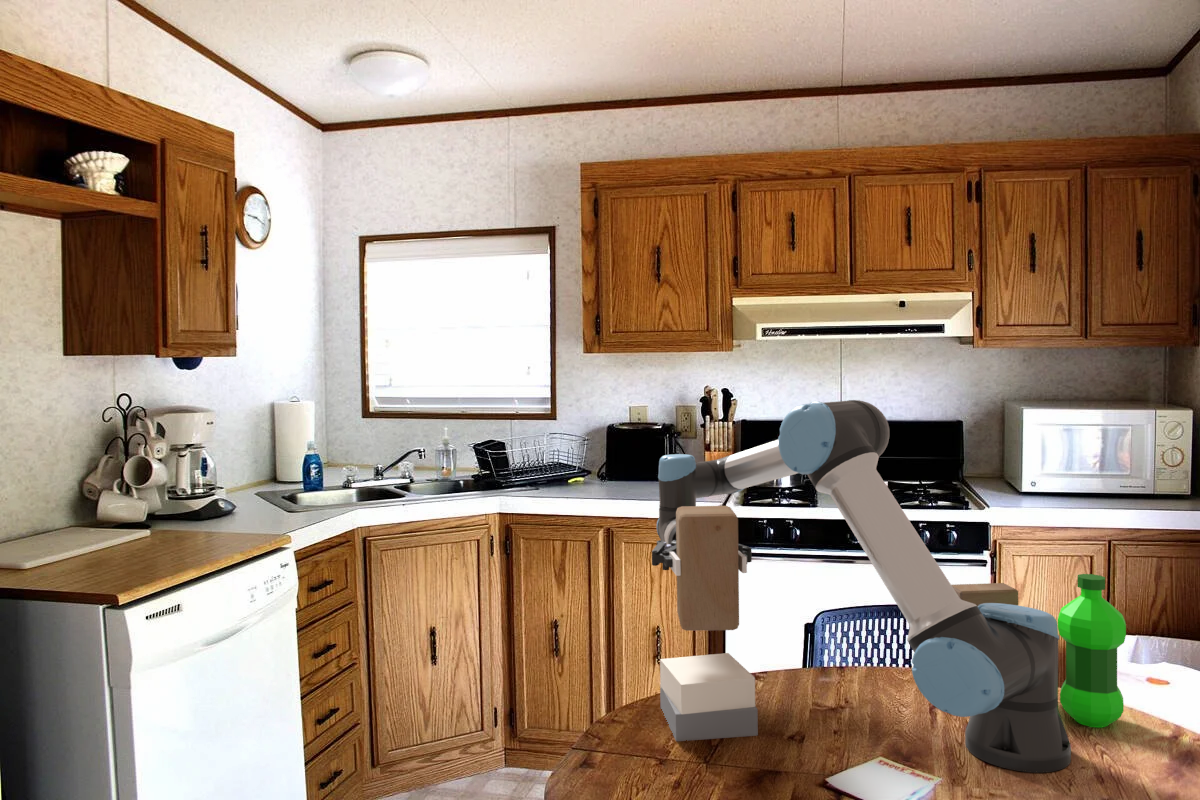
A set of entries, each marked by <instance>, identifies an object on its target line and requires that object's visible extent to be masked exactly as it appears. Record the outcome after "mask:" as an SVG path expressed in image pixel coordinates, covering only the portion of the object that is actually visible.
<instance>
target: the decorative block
mask: <svg viewBox="0 0 1200 800" xmlns="http://www.w3.org/2000/svg"><path fill="white" fill-rule="evenodd" d="M951 586H952V587H953V589H954V590H955V592H956V593H957V595H958V596H959V598H960V599H961V600H963V601H967V602H970V603H973V604H976V605H977V607H978V606H979V605H980V604H983V603H1001V604H1011V605H1018V606H1019V590H1018V589H1017V588H1014V587H1013V586H1010V585H1008V584H1006V583H1005V582H996V583H995V582H994V583H993V582H992V583H989V582H988V583H972V584H971V583H965V584H964V583H963V584H961V583H960V584H957V583H956V584H951Z"/></svg>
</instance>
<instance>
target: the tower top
mask: <svg viewBox="0 0 1200 800" xmlns="http://www.w3.org/2000/svg"><path fill="white" fill-rule="evenodd" d="M659 670H660V671H659V673H660V675H659V678H660V679H659V682H660V683H659V686H661V688H662V689H663V690H664V692H665V693H666V694H667V696H668V697H669V698H670V700H671V701H672V702H673V704H674V705H675V706H676V708H677V709H678V710H679V712H680V713H681V714H691V713H701V712H710V711H720V710H730V709H739V708H749V707H755V706H756V677H755V676H754V675H753V674H752V673H751V672H749V670H747V669H746V668H745V667H744V666H743V665H742V664H741V663H740V662H739V661H738V660H737V659H736V658H734V657H733V656H732V655H731V654H730V653H729V652H725V653H714V654H711V653H710V654H703V655H692V656H691V655H690V656H681V657H667V658H660V659H659Z"/></svg>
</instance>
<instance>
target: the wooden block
mask: <svg viewBox="0 0 1200 800" xmlns="http://www.w3.org/2000/svg"><path fill="white" fill-rule="evenodd" d="M738 544H739V518H738V515H737V514H736V513H735V511H734V510H733V509H732V508H731V506H728V505H696V506H681V507H679V508H677V511H676V554H677V556H678V558H679V559H680V569H681V576H676V610H677V611H676V612H677V617H678V620H679V624H680V627H681V630H683V631H695V632H696V631H734V630H737V629H738V628H739V625H740V586H739V585H740V584H739V583H740V582H739V581H740V580H739V578H740V576H739V575H740V574H739V571H740V570H739V564H738Z"/></svg>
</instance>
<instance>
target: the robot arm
mask: <svg viewBox="0 0 1200 800" xmlns="http://www.w3.org/2000/svg"><path fill="white" fill-rule="evenodd" d="M780 424H781V425H780V427H779V436H778V438H777V439H775V440H772V441H769V442H766V443H764V444H760V445H757V446H754V447H752V448H749V449H744V450H743V451H738V452H736V453H734V454H730V455H727V456H724V457H721V458H718V459H713V460H708V461H707V460H706V461H696V458H695V456H694V455H692V454H684V453H683V454H682V453H675V454H673V453H672V454H665V455H662V456H661V457H660V458H659V461H658V475H657V478H658V491H659V492H658V494H659V504H658V505H659V508H658V515H659V516H658V519H657V521H656V533H657V535H658V536H659V539H660V540H656V545H655V547H654V548H653V549H652V550H651V566H654V567H657V566H659V565H660V564H662V571H669V570H670V569H671V571H672V572H673V573H674V575H675V576H676V577H677V576H681V569H680V559H679V558H678V556H677V554H676V511H677V508H679V507H681V506H697V499H702V498H708V497H714V496H719V495H721V496H722V495H731V494H735V493H739V492H742V491H743V490H745V489H747V488H749V487H750V488H751V487H754V486H757V485H761V484H765V483H768V482H772V481H776V480H778V479H782V478H787V477H789V476H790V477H791V476H793V475H796V474H801V475H807V477H808V478H809V480H810V482H811V484H812V485H813V487H814V488H815V490H816V492H817V493H821V494H825V495H829V496H830V497H831V499H832V501H833V502H834V504H835V505H836V508H837V509H838V510H839V512H840V514H841V515H842V517H843V519H844V520H845V521H846V523H847V525H848V527H849V528H850V530H851V531H852V533H853V535H854V537H855V538H856V539H857V541H858V543H859V545H860V547H861V548H862V549H863V551H864V552H865V554H866V556H867V558H868V559H869V561H870V562H871V564H872V566H873V567H874V569H875V571H876V573H877V574H878V576H879V577H880V579H881V581H882V583H884V584H883V585H885V587H886V588H887V590H888V592H889V593H890V595H891V597H892V598H893V601H894V602H895V604H896V605H897V606H898V609H899V610H900V612H901V614H902V615H903V617H904V618H905V620H906V621H907V623H908V626H909V631H908V634H907V638H906V639H907V642H908V644H909V646H910V648H911V649H912V651H913V652H914V653H913V656H912V660H911V663H912V664H913V665H912V669H911V673H912V677H913V680H914V683H915V686H916V687H917V688H918V691H919V692H920V693H921V695H922V696H923V697H924V698H925V699H926V700H927V702H929V703H930V704H931V705H932V706H934V707H935V708H936V709H938V710H939V711H941V712H944V713H947V714H949V715H952V716H955V717H960V718H961V717H962V718H968V717H969V720H968V722H967V725H966V727H965V732H964V733H965V734H964V736H965V737H964V738H965V742H964V743H965V748H966V749H967V750H968V752H970V753H971V754H972V755H973V756H974V757H976V758H977V759H980V760H981V761H983V762H986V763H988V764H991V765H993V766H996V767H999V768H1002V769H1008V770H1010V771H1011V770H1012V771H1016V772H1017V771H1018V772H1024V773H1025V772H1026V773H1051V772H1057V771H1061V770H1062V769H1065V768H1067V767H1068V766H1069V765H1070V764H1071V762H1072V748H1071V747H1072V746H1071V742H1070V739H1069V736H1068V734H1067V731H1066V728H1065V725H1064V723H1063V719H1062V716H1061V714H1060V711H1059V640H1060V634H1059V630H1058V620H1057V619H1056V618H1055V616H1054V615H1052V614H1051V613H1049V612H1047V611H1045V610H1040V609H1038V608H1033V607H1028V606H1023V605H1019V604H1018V605H1011V604H1001V603H983V604H980V605H979V606H978V607H977V605H976V604H973V603H970V602H967V601H963V600H961V599H960V598H959V596H958V595H957V593H956V592H955V590H954V589H953V587H952V586H951V585H952V584H951V583H950V581H949V579H948V578H947V577H946V575H945V574H944V571H943V570H942V569H941V566H940V565H939V564H938V563H937V561H936V560H935V558H934V556H933V554H932V553H931V552H930V550H929V548H928V547H927V546H926V544H925V543H924V541H923V539H922V537H920V535H919V533H918V531H917V530H916V529H915V527H914V526H913V524H912V523H911V521H910V519H909V518H908V517H907V515H906V513H905V512H904V510H903V509H902V507H901V505H900V504H899V503H898V501H897V499H896V498H895V496H894V495H893V493H892V492H891V490H890V489H889V487H888V486H887V483H885V481H884V480H883V478H882V476H881V474H880V473H879V472H878V470H877V466H878V461H879V457H880V456H881V455H883V453H884V452H885V450H886V448H887V447H888V444H889V439H890V426H889V422H888V420H887V418H886V416H885V415H884V413H883V412H882V411H881V410H880V409H879V408H878V407H876V406H875V405H873V404H872V403H869V402H867V401H863V400H860V399H858V400H857V399H853V400H849V399H848V400H840V401H839V400H838V401H826V402H821V401H811V402H809V403H805V404H800V405H797V406H795V407H794V408H792V409H791V410H790V411H788V413H787V414H786V415H785V417H784V418H783V419H782V422H781V423H780ZM752 556H753V555H752V547H751V546H750V547H749V546H747V545H744V544H741V543H738V564H739V571H740V572H741V573H742V574H746V573H748V571H747V570H748V568H747V567H748V563H751V562H752V561H753V560H752Z"/></svg>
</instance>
